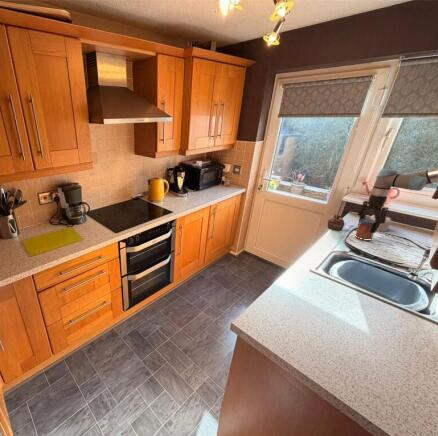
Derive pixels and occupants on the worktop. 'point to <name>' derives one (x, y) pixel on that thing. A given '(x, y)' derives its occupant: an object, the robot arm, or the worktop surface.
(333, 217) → the cupcake
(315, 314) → the worktop surface
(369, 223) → the lid
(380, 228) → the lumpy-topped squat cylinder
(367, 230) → the jar
